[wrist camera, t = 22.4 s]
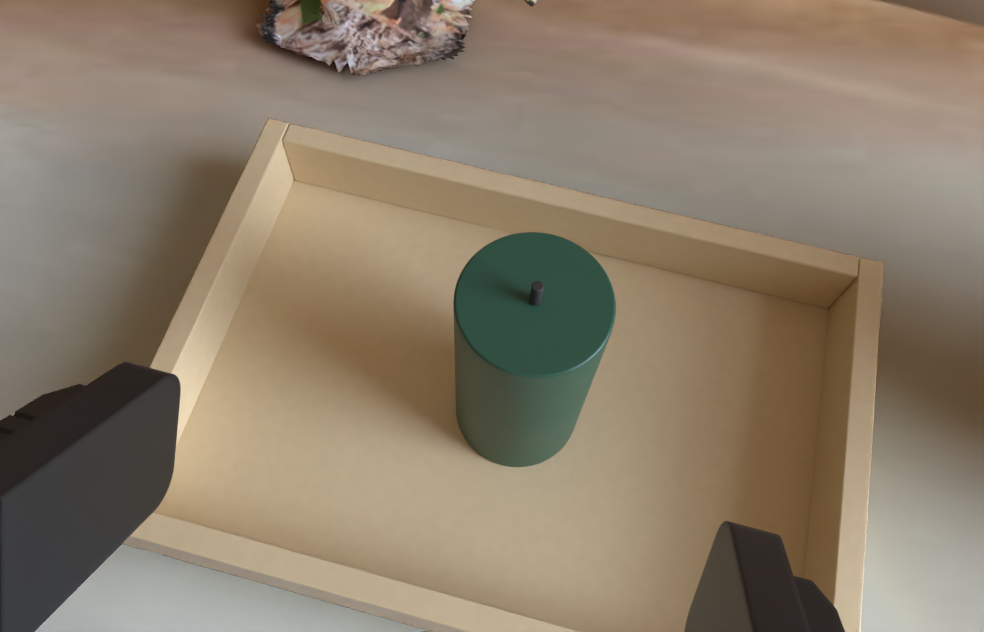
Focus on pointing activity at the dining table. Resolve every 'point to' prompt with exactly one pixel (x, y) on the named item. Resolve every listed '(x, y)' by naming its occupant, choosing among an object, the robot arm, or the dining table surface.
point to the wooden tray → (432, 402)
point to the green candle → (527, 344)
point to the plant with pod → (369, 30)
